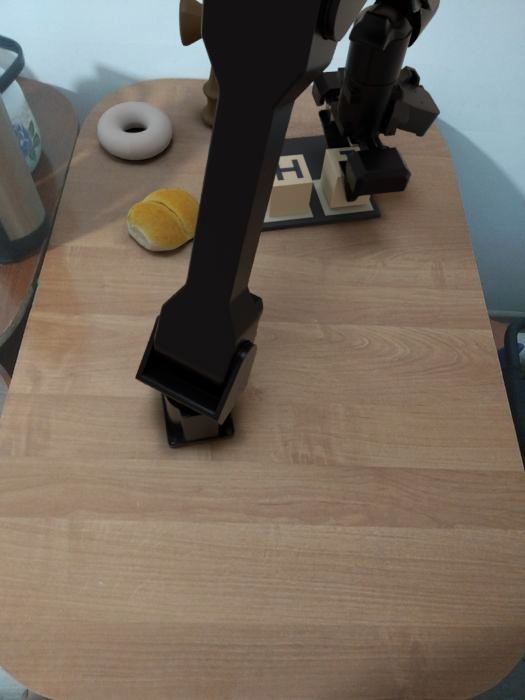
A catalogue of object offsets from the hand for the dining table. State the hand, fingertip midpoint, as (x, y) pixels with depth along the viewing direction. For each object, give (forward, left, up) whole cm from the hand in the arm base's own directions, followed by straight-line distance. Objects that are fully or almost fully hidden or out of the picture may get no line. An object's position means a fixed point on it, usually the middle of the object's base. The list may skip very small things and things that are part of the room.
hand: (344, 186), depth 71 cm
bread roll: (-2, +23, 0) cm, 23 cm away
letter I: (0, 0, -1) cm, 1 cm away
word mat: (+4, +4, -2) cm, 6 cm away
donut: (+15, +25, -2) cm, 29 cm away
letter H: (0, +8, -1) cm, 8 cm away
